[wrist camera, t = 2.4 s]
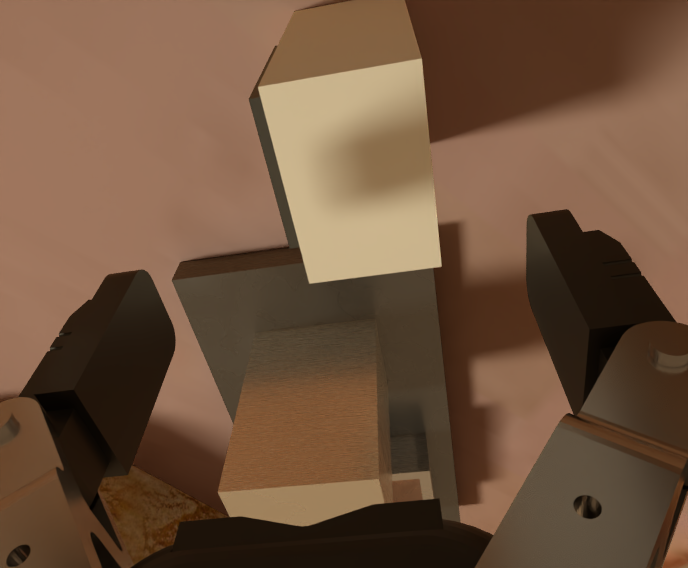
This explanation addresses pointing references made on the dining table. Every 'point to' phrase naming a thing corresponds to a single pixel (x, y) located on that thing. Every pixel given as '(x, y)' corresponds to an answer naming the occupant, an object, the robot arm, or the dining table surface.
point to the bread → (149, 511)
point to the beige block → (350, 141)
